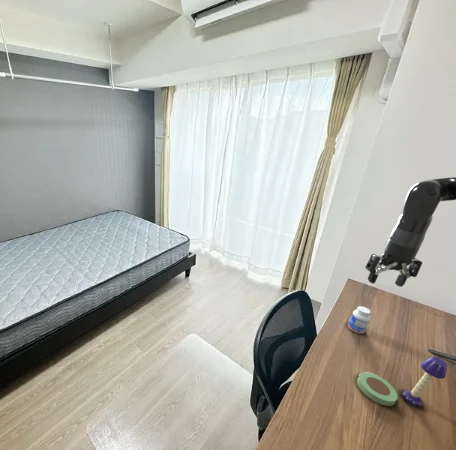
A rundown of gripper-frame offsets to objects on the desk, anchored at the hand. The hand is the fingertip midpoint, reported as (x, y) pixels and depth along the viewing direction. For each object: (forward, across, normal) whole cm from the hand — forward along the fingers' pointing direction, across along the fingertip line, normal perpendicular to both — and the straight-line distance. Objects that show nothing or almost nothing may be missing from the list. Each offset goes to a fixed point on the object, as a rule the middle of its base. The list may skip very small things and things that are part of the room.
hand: (384, 283), depth 84 cm
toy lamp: (+25, +1, -24) cm, 34 cm away
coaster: (+25, -8, -22) cm, 34 cm away
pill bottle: (+25, +1, +5) cm, 25 cm away
